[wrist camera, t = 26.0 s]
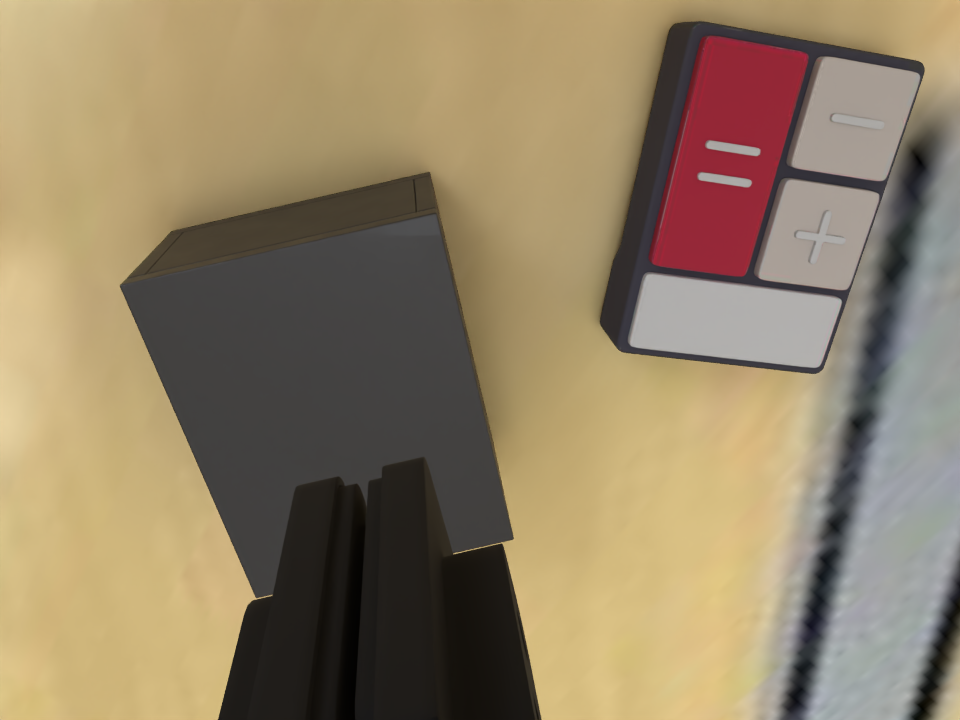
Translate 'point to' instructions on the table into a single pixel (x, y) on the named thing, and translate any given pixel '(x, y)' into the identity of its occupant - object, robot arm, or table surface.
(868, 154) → the calculator
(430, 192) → the case
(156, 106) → the table surface
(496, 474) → the case lid
